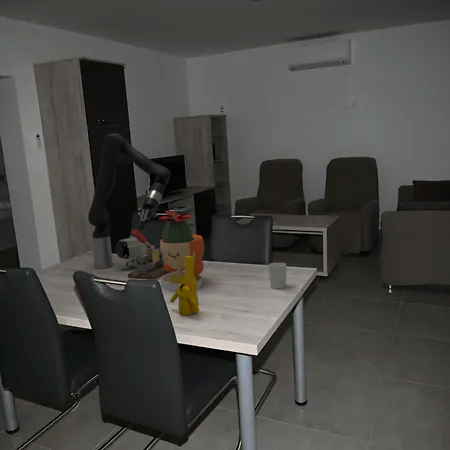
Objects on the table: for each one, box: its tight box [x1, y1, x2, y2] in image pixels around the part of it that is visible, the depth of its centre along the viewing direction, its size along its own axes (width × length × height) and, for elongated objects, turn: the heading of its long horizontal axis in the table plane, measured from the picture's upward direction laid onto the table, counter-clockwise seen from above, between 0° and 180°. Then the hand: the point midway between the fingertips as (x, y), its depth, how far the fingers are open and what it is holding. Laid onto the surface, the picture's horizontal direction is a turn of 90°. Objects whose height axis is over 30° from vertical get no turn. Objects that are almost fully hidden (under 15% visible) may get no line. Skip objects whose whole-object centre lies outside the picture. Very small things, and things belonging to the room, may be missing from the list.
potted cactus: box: [158, 210, 205, 292], centre depth 209 cm, size 22×22×35 cm
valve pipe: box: [135, 244, 165, 275], centre depth 231 cm, size 6×20×13 cm, turn 155°
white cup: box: [268, 262, 287, 290], centre depth 198 cm, size 8×8×10 cm
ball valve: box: [114, 235, 149, 270], centre depth 245 cm, size 18×8×18 cm, turn 139°
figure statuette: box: [169, 256, 200, 316], centre depth 171 cm, size 18×8×22 cm, turn 44°
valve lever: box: [130, 228, 153, 249], centre depth 224 cm, size 2×2×17 cm
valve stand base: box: [127, 263, 172, 280], centre depth 232 cm, size 16×20×2 cm
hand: (140, 228), depth 222 cm, fingers closed
